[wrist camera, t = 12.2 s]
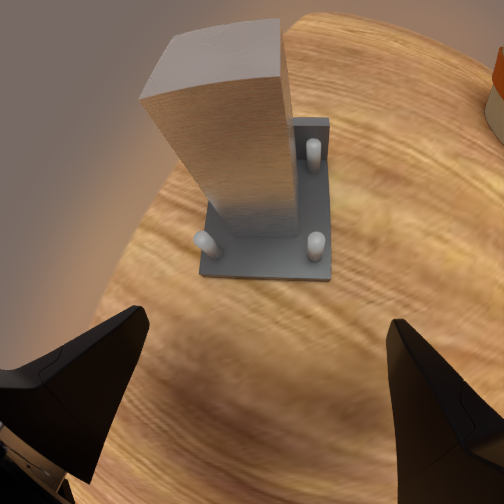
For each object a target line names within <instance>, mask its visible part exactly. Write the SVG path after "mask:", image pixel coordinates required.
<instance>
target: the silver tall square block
mask: <svg viewBox="0 0 504 504" xmlns="http://www.w3.org/2000/svg"><path fill="white" fill-rule="evenodd" d="M138 100H139V101H140V103H141V104H142V106H143V107H144V108H145V110H146V111H147V113H148V114H149V116H150V117H151V119H152V120H153V121H154V123H155V124H156V126H157V127H158V129H159V130H160V131H161V133H162V134H163V136H164V137H165V138H166V140H167V141H168V143H169V144H170V146H171V147H172V148H173V150H174V151H175V153H176V154H177V156H178V157H179V158H180V160H181V161H182V163H183V164H184V166H185V167H186V168H187V170H188V171H189V173H190V174H191V176H192V177H193V178H194V180H195V181H196V183H197V184H198V185H199V187H200V188H201V190H202V191H203V193H204V194H205V195H206V197H207V198H208V200H209V201H210V202H211V204H212V205H213V207H214V208H215V210H216V211H217V212H218V214H219V215H220V217H221V218H222V219H223V221H224V222H225V224H226V225H227V226H228V228H229V229H230V231H231V232H232V234H233V235H234V236H260V237H298V173H297V159H296V146H295V134H294V123H293V113H292V104H291V94H290V86H289V77H288V69H287V62H286V54H285V47H284V40H283V33H282V27H281V21H280V18H276V19H263V20H253V21H245V22H237V23H231V24H224V25H219V26H214V27H208V28H204V29H199V30H195V31H191V32H187V33H183V34H179V35H175V36H174V37H173V38H172V40H171V41H170V43H169V45H168V46H167V48H166V50H165V51H164V53H163V54H162V56H161V58H160V60H159V62H158V63H157V65H156V67H155V68H154V70H153V72H152V74H151V76H150V78H149V80H148V82H147V83H146V85H145V87H144V89H143V91H142V93H141V95H140V97H139V99H138Z"/></svg>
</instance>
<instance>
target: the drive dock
mask: <svg viewBox="0 0 504 504" xmlns="http://www.w3.org/2000/svg"><path fill="white" fill-rule="evenodd" d="M293 123H294V134H295V146H296V159H297V173H298V237H260V236H234V235H233V234H232V232H231V231H230V229H229V228H228V226H227V225H226V224H225V222H224V221H223V219H222V218H221V217H220V215H219V214H218V212H217V211H216V210H215V208H214V207H213V205H212V204H211V202H210V201H209V202H208V208H207V215H206V222H205V229H204V231H199V232H197V233H196V234H195V236H194V239H193V240H194V243H195V245H197V246H198V247H199V248H200V249H201V250H202V252H201V260H200V268H199V274H200V275H201V276H203V277H215V278H236V279H260V280H288V281H328V282H329V281H330V279H331V225H330V199H329V181H328V166H327V155H328V143H329V129H330V124H329V118H317V117H295V118H293Z"/></svg>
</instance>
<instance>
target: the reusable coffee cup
mask: <svg viewBox="0 0 504 504" xmlns="http://www.w3.org/2000/svg"><path fill="white" fill-rule="evenodd" d="M492 81H493V87H492V90H491V93H490V96H489V99H488V101H487V104H486V107H485V117H486V119H487V122H488V124H489V126H490V128H491V129H492V131H493V132H494V134H495V135H496V136H497V138H498V139H499V140H500V141H501V143H502V144H503V145H504V46H503V47H500V48H499V52H498V56H497V61H496V64H495V68H494V72H493V75H492Z"/></svg>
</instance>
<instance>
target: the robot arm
mask: <svg viewBox="0 0 504 504" xmlns="http://www.w3.org/2000/svg"><path fill="white" fill-rule="evenodd" d="M149 326H150V323H149V320H148V317H147V315H146V312H145V310H144V308H143V307H142V306H136V305H133V306H131V307H129V308H127V309H126V310H124V311H122V312H120V313H119V314H117V315H115V316H113V317H111V318H110V319H108V320H106V321H104V322H103V323H101V324H99V325H97V326H96V327H94V328H92V329H90V330H89V331H87V332H85V333H83V334H82V335H80V336H78V337H76V338H75V339H73V340H71V341H69V342H68V343H66V344H64V345H62V346H60V347H59V348H57V349H56V350H53V351H52V352H50V353H48V354H46V355H44V356H42V357H40V358H38V359H36V360H34V361H32V362H30V363H28V364H26V365H24V366H21V367H20V368H17V369H14V370H1V369H0V504H75V501H74V498H73V495H72V492H71V489H70V485H69V482H68V480H67V479H65V476H66V474H67V472H68V473H69V474H71V475H73V476H75V477H76V478H78V479H80V480H82V481H83V482H85V483H87V484H90V483H91V480H92V477H93V474H94V471H95V468H96V465H97V462H98V460H99V457H100V454H101V451H102V449H103V446H104V443H105V440H106V437H107V435H108V432H109V430H110V427H111V424H112V422H113V419H114V417H115V414H116V412H117V409H118V407H119V404H120V402H121V400H122V397H123V395H124V392H125V390H126V388H127V385H128V383H129V381H130V378H131V376H132V374H133V371H134V369H135V367H136V365H137V362H138V360H139V357H140V354H141V351H142V348H143V345H144V342H145V339H146V336H147V333H148V330H149ZM386 348H387V363H388V381H389V388H390V395H391V402H392V410H393V419H394V428H395V439H396V452H397V473H398V504H504V419H503V418H502V417H501V416H500V415H499V414H498V413H497V412H496V411H495V410H494V409H493V408H491V407H490V406H489V405H488V404H487V403H486V402H485V401H484V400H483V399H482V398H481V397H480V396H479V395H478V394H477V393H476V392H475V391H474V390H473V389H472V388H471V387H470V386H469V384H468V383H467V382H466V381H464V379H463V378H462V377H461V376H460V375H459V374H458V373H457V372H456V371H455V370H454V369H453V367H452V366H451V365H450V364H449V363H448V362H447V361H446V360H445V359H444V358H443V357H442V356H441V355H440V354H439V353H438V352H437V351H436V350H435V349H434V348H433V347H432V346H431V345H430V344H429V343H428V342H427V341H426V340H425V339H424V338H423V337H422V336H421V335H420V334H419V333H418V332H417V331H416V330H415V329H414V328H413V327H412V326H411V325H410V324H409V323H408V322H407V321H406V320H404V319H393V320H392V321H391V324H390V327H389V331H388V334H387V337H386Z"/></svg>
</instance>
